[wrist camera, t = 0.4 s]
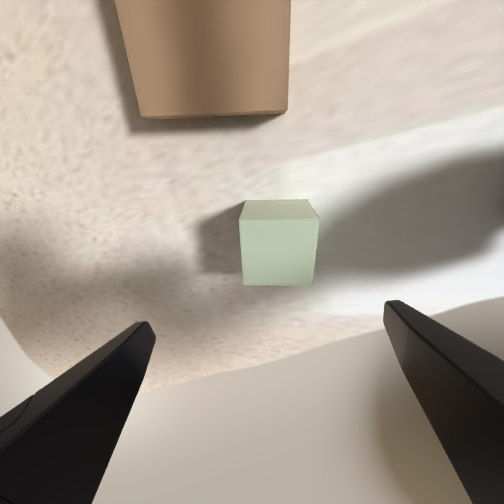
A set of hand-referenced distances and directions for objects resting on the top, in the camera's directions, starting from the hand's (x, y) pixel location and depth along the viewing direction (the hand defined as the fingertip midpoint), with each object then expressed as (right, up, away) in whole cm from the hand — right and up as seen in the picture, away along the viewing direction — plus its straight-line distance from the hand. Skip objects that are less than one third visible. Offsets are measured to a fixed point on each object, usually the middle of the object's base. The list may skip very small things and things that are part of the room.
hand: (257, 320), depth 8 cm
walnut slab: (-3, +16, +6) cm, 17 cm away
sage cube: (+2, +5, +11) cm, 12 cm away
